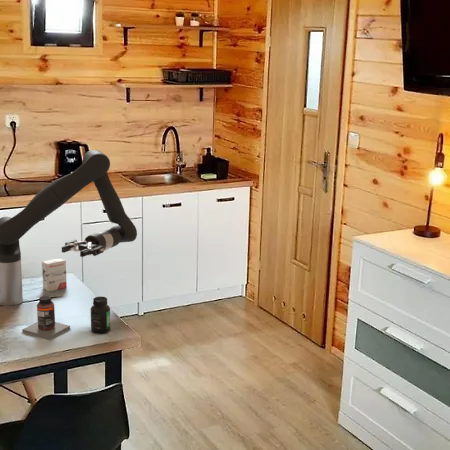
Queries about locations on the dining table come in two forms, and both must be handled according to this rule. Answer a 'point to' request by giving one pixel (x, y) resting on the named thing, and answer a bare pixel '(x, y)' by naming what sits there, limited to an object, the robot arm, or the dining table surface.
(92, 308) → the supplement bottle
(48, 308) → the supplement bottle
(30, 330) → the slate tile
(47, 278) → the ink box
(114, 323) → the dining table surface
